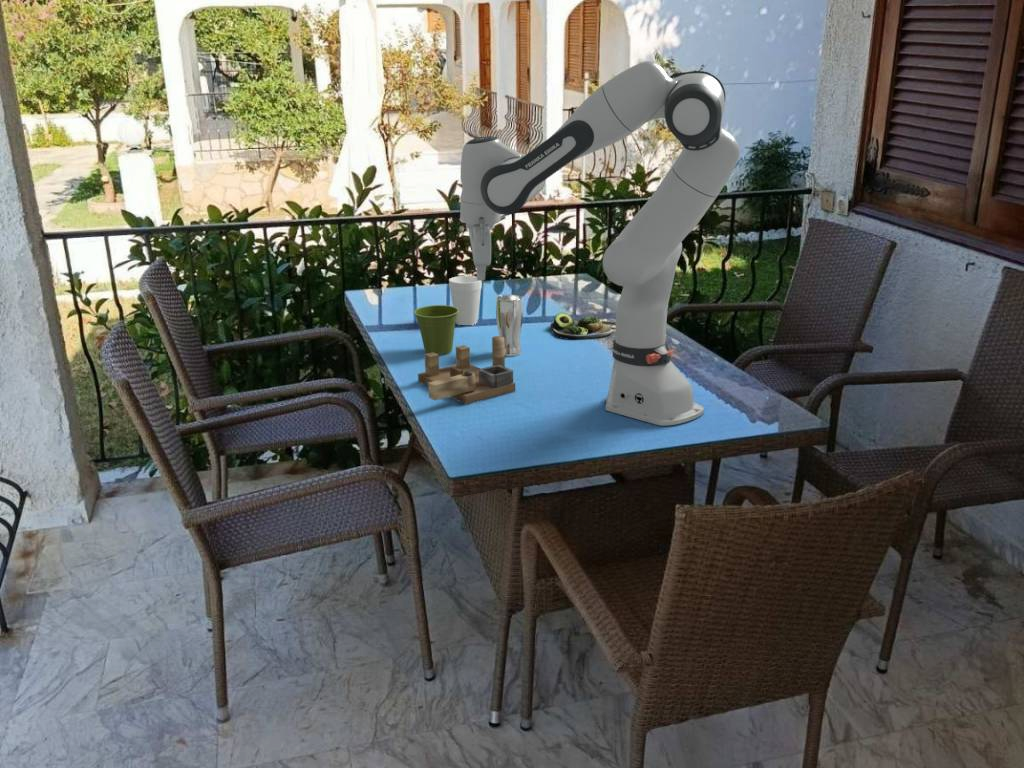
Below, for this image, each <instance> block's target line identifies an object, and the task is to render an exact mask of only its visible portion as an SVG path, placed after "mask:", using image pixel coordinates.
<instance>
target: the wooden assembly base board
mask: <svg viewBox="0 0 1024 768" xmlns="http://www.w3.org/2000/svg"><path fill="white" fill-rule="evenodd" d="M439 355H440V354H436V353H434V352H432V353H428V354H427V353H424V369H425V370H424V372H420V373H418V374H417V379H418V380H417V382H418V383H421V384H423V385H424V386H427V387H428V383H429V382H433V381H437V380H441V379H445V378H449V377H453V376H457V375H461V374H463V373H464V372H465V371H472V373H474V374H475V390H474V391H470V392H465V393H461V394H458V395H454V396H450V397H449V398H451V397H452V398H451V399H453V398H454V400H455V401H458V400H459V401H458V402H460V401H461V402H460V403H462V402H463V404H464V403H465V404H464V405H466V404H467V405H470V404H469V403H471V404H474V403H478V402H481V400H482V401H485V400H489V399H492V398H496V397H499V396H498V395H500V396H503V395H507V394H510V392H511V393H514V392H516V382H514V370H513V369H511V368H508V367H506V366H505V367H504V366H501V365H497V366H496V365H494V366H493V365H491V366H487V367H482V368H480V367H478V366H476V365H473V364H471V352H470V347H469V346H467V345H464V344H462V345H459V346H455V361H456V362H455V364H452V365H448V366H445V367H441V368H440V356H439ZM513 391H514V392H513ZM502 394H503V395H502ZM495 396H496V397H495ZM488 398H489V399H488ZM477 401H478V402H477ZM473 402H474V403H473Z"/></svg>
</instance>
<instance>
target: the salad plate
mask: <svg viewBox="0 0 1024 768" xmlns="http://www.w3.org/2000/svg"><path fill="white" fill-rule="evenodd" d="M597 317H598V316H594V317H593V316H588V315H587V316H585V317H582V318H581V319H579V318H573V317H572V316H571V315H570V314H569V313H566V312H558V313H557V314H555V316H554V317H553V318H554V320H553V321H552V322H551V323H550V329H551V332H552V331H553V332H552V333H553V335H554V334H555V335H554V336H556V337H557V336H558V338H560V337H562V338H561V339H564V338H568V340H583V338H588V339H596V337H597V338H603V337H607V336H609V335H610V334H612V333H613V329H612V328H611V327H613V326H616V321H614V322H613V321H606V320H602V319H603V318H602V317H601V318H599V319H598V318H597ZM596 331H599V332H598V333H597V332H596ZM590 332H592V333H597V334H591V333H590ZM587 333H588V334H587Z"/></svg>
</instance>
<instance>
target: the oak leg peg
mask: <svg viewBox="0 0 1024 768" xmlns="http://www.w3.org/2000/svg"><path fill="white" fill-rule="evenodd" d="M491 345H492V346H491V348H492V349H491V351H492V353H491V354H492V357H491V359H492V360H491V361H492V366H494V365H496V366H497V365H501V366H504V367H506V364H505V363H506V359H505V358H506V356H505V341H504V337H502V336H499V335H497V336H493V337H492V338H491Z"/></svg>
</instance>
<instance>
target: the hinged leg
mask: <svg viewBox="0 0 1024 768" xmlns="http://www.w3.org/2000/svg"><path fill="white" fill-rule="evenodd" d="M427 387H428V398H429V399H431V400H433V401H438V400H441V399H446V398H451V397H450V396H454V395H458V394H461V393H465V392H470V391H474V390H475V374H474V373H472V371H465V372H464V373H463V374H461V375H457V376H453V377H449V378H445V379H441V380H437V381H433V382H429V383H428V386H427Z"/></svg>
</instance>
